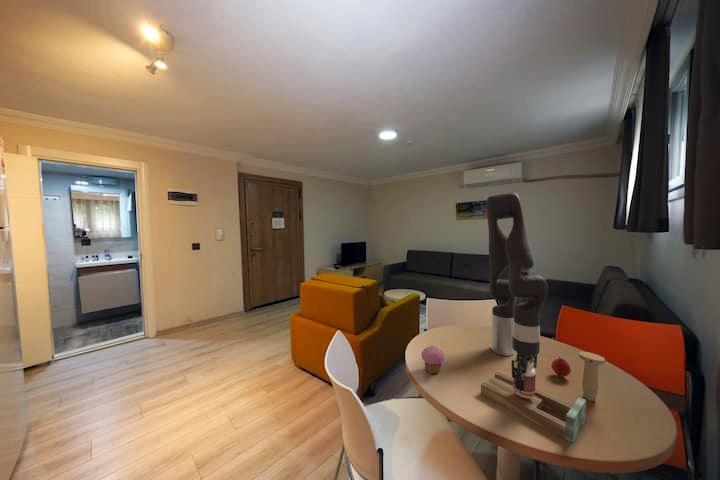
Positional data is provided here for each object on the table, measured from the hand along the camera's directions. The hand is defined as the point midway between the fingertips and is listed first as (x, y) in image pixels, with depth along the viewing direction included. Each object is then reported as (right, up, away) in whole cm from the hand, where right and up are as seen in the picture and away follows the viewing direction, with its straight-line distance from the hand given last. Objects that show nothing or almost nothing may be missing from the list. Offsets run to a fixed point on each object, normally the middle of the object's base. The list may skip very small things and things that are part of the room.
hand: (524, 385), depth 87 cm
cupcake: (-24, -6, +20) cm, 32 cm away
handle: (+24, -6, +3) cm, 25 cm away
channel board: (+1, -7, -1) cm, 7 cm away
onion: (+23, -5, +15) cm, 28 cm away
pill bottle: (0, -3, 0) cm, 3 cm away
